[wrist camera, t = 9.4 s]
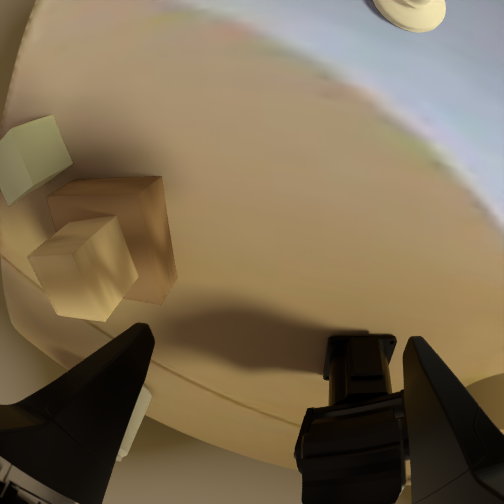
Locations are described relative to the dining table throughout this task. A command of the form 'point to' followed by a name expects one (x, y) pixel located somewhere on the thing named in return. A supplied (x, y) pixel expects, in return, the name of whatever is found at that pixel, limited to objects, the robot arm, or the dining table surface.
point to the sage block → (31, 157)
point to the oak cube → (85, 268)
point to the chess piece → (413, 13)
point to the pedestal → (126, 225)
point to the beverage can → (135, 421)
